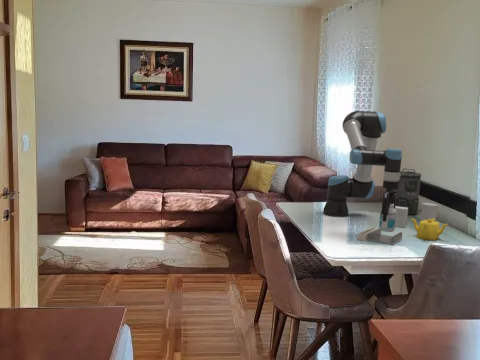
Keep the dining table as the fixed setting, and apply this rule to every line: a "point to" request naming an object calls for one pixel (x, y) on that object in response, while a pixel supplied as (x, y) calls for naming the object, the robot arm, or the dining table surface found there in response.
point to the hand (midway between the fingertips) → (386, 226)
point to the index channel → (384, 237)
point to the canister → (408, 191)
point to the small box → (401, 216)
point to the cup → (428, 211)
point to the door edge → (365, 234)
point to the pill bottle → (389, 219)
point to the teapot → (428, 229)
